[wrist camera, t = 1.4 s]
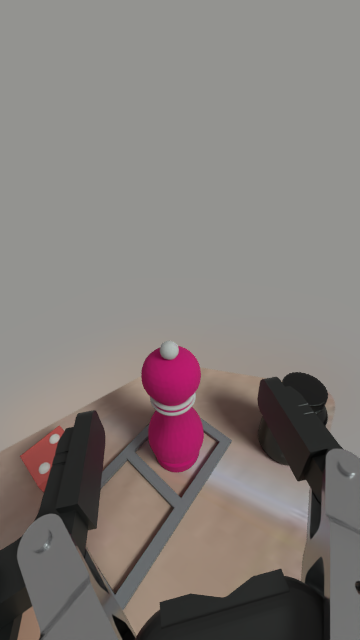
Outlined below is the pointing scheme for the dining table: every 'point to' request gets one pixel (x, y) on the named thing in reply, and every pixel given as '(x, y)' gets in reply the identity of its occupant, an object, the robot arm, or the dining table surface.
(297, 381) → the supplement bottle
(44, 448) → the die
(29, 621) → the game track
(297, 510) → the dining table surface
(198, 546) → the dining table surface
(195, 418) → the pepper mill
